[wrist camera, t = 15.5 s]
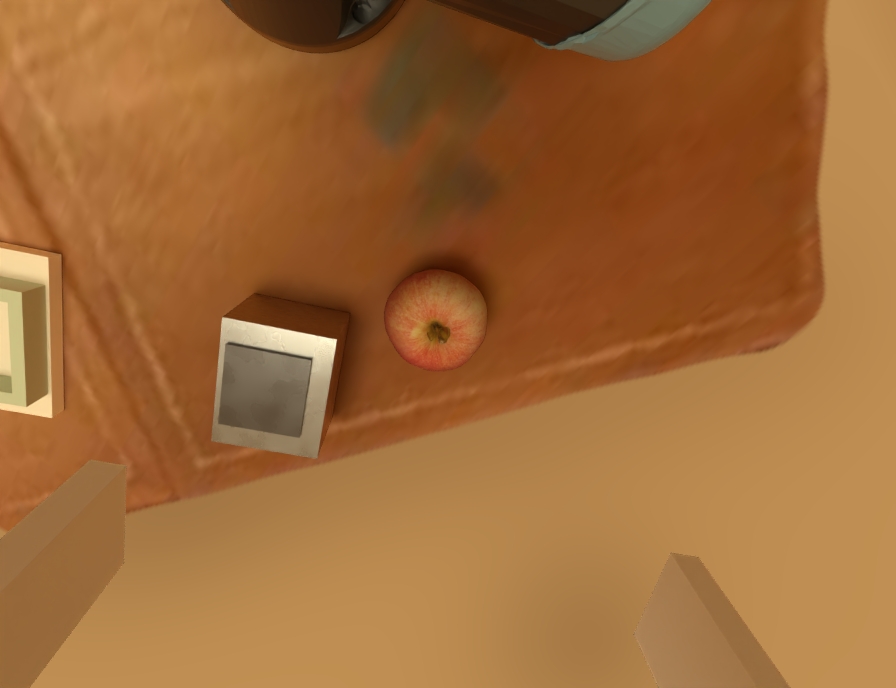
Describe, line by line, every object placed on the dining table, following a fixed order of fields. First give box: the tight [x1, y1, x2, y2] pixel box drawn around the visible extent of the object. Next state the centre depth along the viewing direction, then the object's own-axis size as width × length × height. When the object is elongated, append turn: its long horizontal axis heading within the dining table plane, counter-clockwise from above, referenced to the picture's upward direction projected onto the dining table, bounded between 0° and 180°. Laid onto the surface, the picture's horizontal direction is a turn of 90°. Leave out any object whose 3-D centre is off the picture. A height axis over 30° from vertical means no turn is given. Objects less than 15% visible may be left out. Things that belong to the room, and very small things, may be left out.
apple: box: [384, 269, 487, 371], centre depth 39 cm, size 8×8×8 cm
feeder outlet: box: [211, 294, 350, 459], centre depth 40 cm, size 10×8×7 cm
